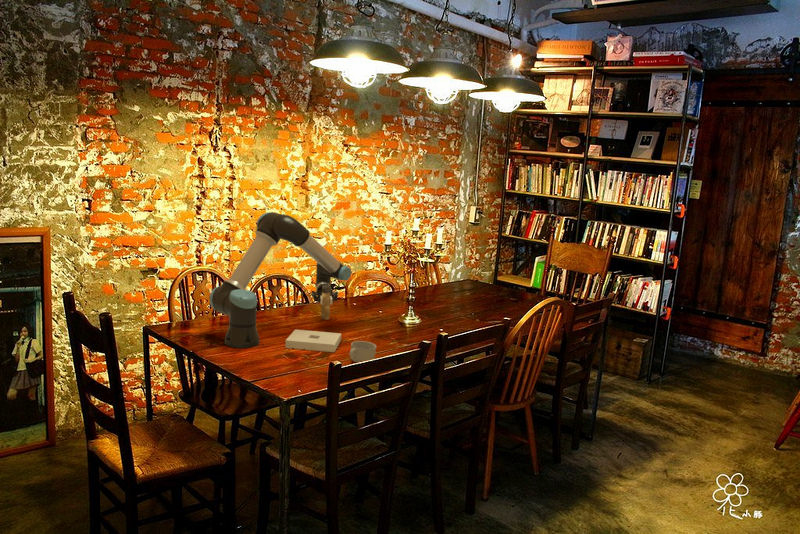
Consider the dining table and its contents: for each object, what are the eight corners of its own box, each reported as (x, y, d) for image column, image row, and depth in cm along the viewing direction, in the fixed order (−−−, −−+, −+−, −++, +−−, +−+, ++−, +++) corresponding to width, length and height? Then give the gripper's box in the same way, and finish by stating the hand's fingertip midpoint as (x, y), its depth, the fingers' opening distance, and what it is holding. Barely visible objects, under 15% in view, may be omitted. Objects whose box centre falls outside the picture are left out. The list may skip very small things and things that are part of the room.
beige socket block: (285, 347, 279) (285, 340, 278) (294, 336, 296) (295, 329, 296) (334, 352, 277) (334, 344, 277) (340, 340, 295) (341, 333, 295)
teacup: (363, 356, 274) (364, 339, 273) (380, 363, 267) (381, 345, 266) (339, 362, 265) (340, 344, 263) (355, 369, 257) (356, 351, 256)
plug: (320, 318, 301) (321, 286, 298) (321, 316, 305) (323, 284, 302) (328, 319, 301) (329, 287, 297) (329, 317, 305) (331, 285, 301)
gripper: (340, 298, 321) (344, 309, 298) (306, 297, 317) (308, 309, 295) (341, 283, 319) (344, 294, 297) (307, 282, 316) (308, 293, 294)
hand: (326, 301), depth 296 cm, fingers closed on plug, 4 cm apart
